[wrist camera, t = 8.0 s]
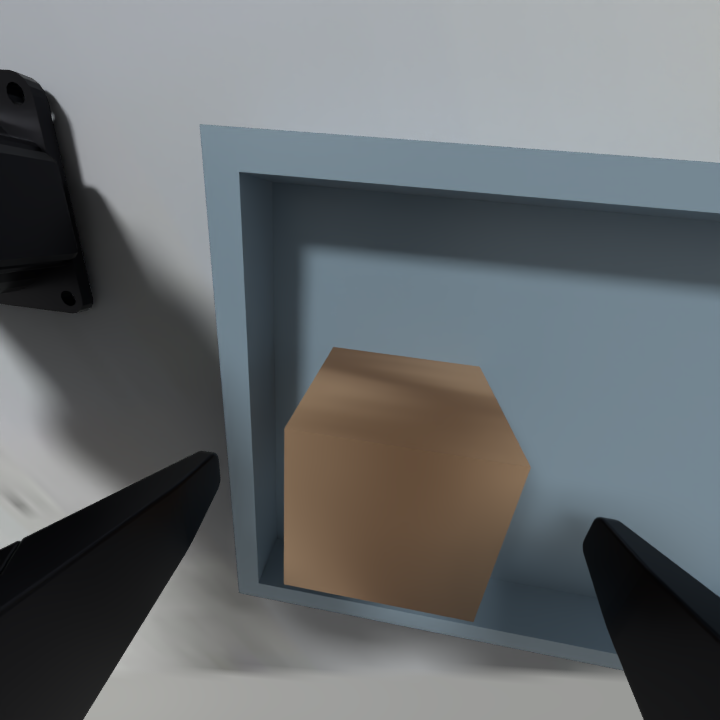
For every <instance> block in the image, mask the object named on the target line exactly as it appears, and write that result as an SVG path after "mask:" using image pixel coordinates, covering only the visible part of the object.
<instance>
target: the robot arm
mask: <svg viewBox="0 0 720 720" xmlns="http://www.w3.org/2000/svg"><path fill="white" fill-rule="evenodd" d="M23 92H24V97H25V101H24V100H23ZM72 294H73V295H74V297H75V299H76V300H75V299H74V297H73V295H72ZM0 304H6V305H14V306H21V307H29V308H37V309H44V310H52V311H60V312H67V313H78V312H82V311H85V310H88V309H90V308H91V307H92V304H93V297H92V292H91V288H90V284H89V279H88V275H87V270H86V266H85V262H84V257H83V253H82V249H81V244H80V240H79V235H78V231H77V227H76V222H75V218H74V213H73V209H72V205H71V200H70V196H69V192H68V187H67V183H66V178H65V174H64V170H63V165H62V161H61V157H60V152H59V148H58V143H57V139H56V135H55V130H54V126H53V122H52V117H51V113H50V108H49V104H48V100H47V97H46V95H45V92H44V90H43V89H42V87H41V86H40V84H39V83H37V82H36V81H35V80H34V79H32V78H30V77H27V76H25V75H22V74H19V73H17V72H14V71H11V70H0ZM219 485H220V469H219V459H218V455H217V454H216V453H213V452H207V451H199V452H197V453H195V454H193V455H191V456H189V457H187V458H185V459H183V460H181V461H179V462H176V463H174V464H172V465H170V466H168V467H166V468H164V469H162V470H160V471H158V472H156V473H154V474H152V475H150V476H148V477H146V478H144V479H142V480H140V481H138V482H136V483H134V484H132V485H130V486H128V487H126V488H124V489H122V490H120V491H118V492H116V493H114V494H112V495H110V496H108V497H106V498H104V499H102V500H100V501H98V502H96V503H94V504H92V505H90V506H88V507H86V508H83V509H81V510H79V511H77V512H75V513H73V514H71V515H69V516H67V517H65V518H63V519H61V520H59V521H57V522H55V523H53V524H51V525H49V526H47V527H45V528H43V529H41V530H39V531H37V532H35V533H33V534H31V535H29V536H27V537H25V538H23V539H22V541H17V542H14V543H12V544H10V545H8V546H6V547H4V548H2V549H0V720H83V719H84V717H85V716H86V714H87V713H88V711H89V709H90V708H91V706H92V704H93V703H94V701H95V700H96V698H97V696H98V695H99V693H100V691H101V690H102V688H103V686H104V685H105V683H106V682H107V680H108V678H109V677H110V675H111V674H112V672H113V670H114V669H115V667H116V665H117V664H118V662H119V661H120V659H121V657H122V656H123V654H124V653H125V651H126V649H127V648H128V646H129V644H130V643H131V641H132V640H133V638H134V636H135V635H136V633H137V631H138V630H139V628H140V627H141V625H142V623H143V622H144V620H145V618H146V617H147V615H148V614H149V612H150V610H151V609H152V607H153V605H154V604H155V602H156V601H157V599H158V597H159V596H160V594H161V593H162V591H163V589H164V588H165V586H166V584H167V583H168V581H169V580H170V578H171V576H172V575H173V573H174V571H175V570H176V568H177V567H178V565H179V563H180V562H181V560H182V558H183V557H184V555H185V553H186V552H187V550H188V548H189V546H190V544H191V543H192V541H193V539H194V537H195V535H196V533H197V531H198V529H199V527H200V525H201V523H202V520H203V518H204V516H205V514H206V512H207V510H208V508H209V506H210V504H211V502H212V500H213V498H214V496H215V494H216V492H217V490H218V488H219ZM583 554H584V557H585V560H586V564H587V567H588V570H589V573H590V577H591V580H592V583H593V586H594V590H595V593H596V596H597V599H598V603H599V606H600V609H601V612H602V616H603V618H604V621H605V624H606V627H607V630H608V633H609V635H610V638H611V640H612V643H613V646H614V648H615V650H616V653H617V655H618V658H619V660H620V663H621V665H622V668H623V670H624V673H625V675H626V677H627V680H628V682H629V685H630V687H631V690H632V692H633V695H634V697H635V699H636V702H637V704H638V707H639V709H640V712H641V714H642V717H643V719H644V720H720V597H719V596H718V595H716V594H715V593H714V592H712V591H711V590H710V589H708V588H707V587H706V586H705V585H703V584H702V583H701V582H699V581H698V580H697V579H695V578H694V577H693V576H691V575H690V574H689V573H687V572H686V571H685V570H683V569H682V568H681V567H680V566H678V565H677V564H676V563H674V562H673V561H672V560H670V559H669V558H668V557H666V556H665V555H664V554H662V553H661V552H660V551H658V550H657V549H656V548H655V547H653V546H652V545H651V544H649V543H648V542H647V541H645V540H644V539H643V538H641V537H640V536H639V535H637V534H636V533H635V532H633V531H632V530H631V529H630V528H628V527H627V526H626V525H624V524H623V523H622V522H620V521H618V520H616V519H611V518H605V517H597V518H595V519H594V521H593V522H592V524H591V526H590V528H589V530H588V532H587V534H586V536H585V538H584V541H583Z"/></svg>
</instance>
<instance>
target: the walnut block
mask: <svg viewBox="0 0 720 720" xmlns="http://www.w3.org/2000/svg"><path fill="white" fill-rule="evenodd" d="M530 469H531V467H530V465H529V463H528V461H527V459H526V457H525V455H524V453H523V451H522V449H521V447H520V445H519V443H518V441H517V439H516V437H515V435H514V433H513V431H512V429H511V427H510V425H509V423H508V421H507V419H506V417H505V415H504V413H503V411H502V409H501V407H500V405H499V403H498V401H497V399H496V398H495V396H494V394H493V392H492V390H491V388H490V386H489V384H488V382H487V380H486V378H485V376H484V374H483V372H482V370H481V368H480V367H479V366H472V365H464V364H457V363H449V362H442V361H434V360H427V359H420V358H412V357H405V356H397V355H390V354H383V353H375V352H368V351H360V350H353V349H346V348H338V347H333V348H332V350H331V352H330V353H329V355H328V357H327V358H326V360H325V362H324V363H323V365H322V367H321V368H320V370H319V372H318V373H317V375H316V377H315V378H314V380H313V382H312V383H311V385H310V387H309V388H308V390H307V392H306V393H305V395H304V397H303V398H302V400H301V402H300V403H299V405H298V407H297V408H296V410H295V412H294V413H293V415H292V417H291V418H290V420H289V422H288V423H287V425H286V427H285V428H284V584H285V585H290V586H295V587H300V588H305V589H310V590H315V591H320V592H325V593H330V594H335V595H340V596H345V597H350V598H355V599H360V600H365V601H370V602H375V603H380V604H385V605H390V606H395V607H400V608H405V609H410V610H415V611H420V612H425V613H430V614H435V615H440V616H445V617H450V618H455V619H460V620H465V621H470V622H474V619H475V617H476V614H477V611H478V608H479V606H480V603H481V600H482V598H483V595H484V592H485V590H486V587H487V584H488V582H489V579H490V576H491V573H492V571H493V568H494V565H495V563H496V560H497V557H498V555H499V552H500V549H501V547H502V544H503V541H504V538H505V536H506V533H507V530H508V528H509V525H510V522H511V520H512V517H513V514H514V512H515V509H516V506H517V504H518V501H519V498H520V495H521V493H522V490H523V487H524V485H525V482H526V479H527V477H528V474H529V471H530Z"/></svg>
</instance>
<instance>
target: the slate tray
mask: <svg viewBox="0 0 720 720" xmlns="http://www.w3.org/2000/svg"><path fill="white" fill-rule="evenodd" d="M200 134H201V146H202V158H203V170H204V182H205V193H206V205H207V217H208V229H209V241H210V253H211V265H212V277H213V289H214V300H215V312H216V324H217V336H218V348H219V360H220V372H221V384H222V396H223V407H224V419H225V431H226V443H227V455H228V467H229V479H230V491H231V503H232V514H233V526H234V538H235V550H236V562H237V574H238V586H239V593H242V594H247V595H252V596H257V597H262V598H267V599H272V600H277V601H281V602H286V603H291V604H296V605H301V606H306V607H311V608H316V609H321V610H326V611H331V612H336V613H341V614H346V615H351V616H356V617H361V618H366V619H371V620H376V621H381V622H386V623H391V624H396V625H400V626H405V627H410V628H415V629H420V630H425V631H430V632H435V633H440V634H445V635H450V636H455V637H460V638H465V639H470V640H475V641H480V642H485V643H490V644H495V645H500V646H505V647H510V648H514V649H519V650H524V651H529V652H534V653H539V654H544V655H549V656H554V657H559V658H564V659H569V660H574V661H579V662H584V663H589V664H594V665H599V666H604V667H609V668H614V669H619V670H623V668H622V665H621V663H620V660H619V658H618V655H617V653H616V650H615V648H614V646H613V643H612V640H611V638H610V635H609V633H608V630H607V627H606V624H605V621H604V618H603V616H602V612H601V609H600V606H599V603H598V599H597V596H596V593H595V590H594V586H593V583H592V580H591V577H590V573H589V570H588V567H587V564H586V560H585V557H584V554H583V541H584V538H585V536H586V534H587V532H588V530H589V528H590V526H591V524H592V522H593V521H594V519H595V518H597V517H605V518H611V519H616V520H618V521H620V522H622V523H623V524H624V525H626V526H627V527H628V528H630V529H631V530H632V531H633V532H635V533H636V534H637V535H639V536H640V537H641V538H643V539H644V540H645V541H647V542H648V543H649V544H651V545H652V546H653V547H655V548H656V549H657V550H658V551H660V552H661V553H662V554H664V555H665V556H666V557H668V558H669V559H670V560H672V561H673V562H674V563H676V564H677V565H678V566H680V567H681V568H682V569H683V570H685V571H686V572H687V573H689V574H690V575H691V576H693V577H694V578H695V579H697V580H698V581H699V582H701V583H702V584H703V585H705V586H706V587H707V588H708V589H710V590H711V591H712V592H714V593H715V594H716V595H718V596H719V597H720V163H715V162H701V161H688V160H674V159H661V158H647V157H634V156H620V155H607V154H593V153H580V152H566V151H553V150H539V149H526V148H512V147H499V146H485V145H472V144H458V143H445V142H431V141H418V140H405V139H391V138H378V137H364V136H351V135H337V134H324V133H310V132H297V131H283V130H270V129H256V128H243V127H229V126H216V125H202V124H200ZM333 347H338V348H346V349H353V350H360V351H368V352H375V353H383V354H390V355H397V356H405V357H412V358H420V359H427V360H434V361H442V362H449V363H457V364H464V365H472V366H479V367H480V368H481V370H482V372H483V374H484V376H485V378H486V380H487V382H488V384H489V386H490V388H491V390H492V392H493V394H494V396H495V398H496V399H497V401H498V403H499V405H500V407H501V409H502V411H503V413H504V415H505V417H506V419H507V421H508V423H509V425H510V427H511V429H512V431H513V433H514V435H515V437H516V439H517V441H518V443H519V445H520V447H521V449H522V451H523V453H524V455H525V457H526V459H527V461H528V463H529V465H530V467H531V469H530V471H529V474H528V477H527V479H526V482H525V485H524V487H523V490H522V493H521V495H520V498H519V501H518V504H517V506H516V509H515V512H514V514H513V517H512V520H511V522H510V525H509V528H508V530H507V533H506V536H505V538H504V541H503V544H502V547H501V549H500V552H499V555H498V557H497V560H496V563H495V565H494V568H493V571H492V573H491V576H490V579H489V582H488V584H487V587H486V590H485V592H484V595H483V598H482V600H481V603H480V606H479V608H478V611H477V614H476V617H475V619H474V622H470V621H465V620H460V619H455V618H450V617H445V616H440V615H435V614H430V613H425V612H420V611H415V610H410V609H405V608H400V607H395V606H390V605H385V604H380V603H375V602H370V601H365V600H360V599H355V598H350V597H345V596H340V595H335V594H330V593H325V592H320V591H315V590H310V589H305V588H300V587H295V586H290V585H285V584H284V428H285V427H286V425H287V423H288V422H289V420H290V418H291V417H292V415H293V413H294V412H295V410H296V408H297V407H298V405H299V403H300V402H301V400H302V398H303V397H304V395H305V393H306V392H307V390H308V388H309V387H310V385H311V383H312V382H313V380H314V378H315V377H316V375H317V373H318V372H319V370H320V368H321V367H322V365H323V363H324V362H325V360H326V358H327V357H328V355H329V353H330V352H331V350H332V348H333Z"/></svg>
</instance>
